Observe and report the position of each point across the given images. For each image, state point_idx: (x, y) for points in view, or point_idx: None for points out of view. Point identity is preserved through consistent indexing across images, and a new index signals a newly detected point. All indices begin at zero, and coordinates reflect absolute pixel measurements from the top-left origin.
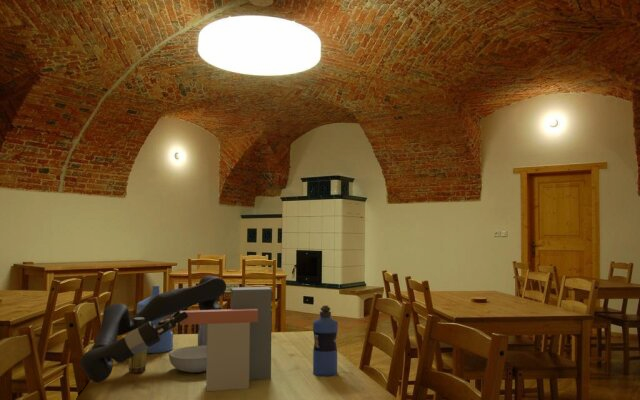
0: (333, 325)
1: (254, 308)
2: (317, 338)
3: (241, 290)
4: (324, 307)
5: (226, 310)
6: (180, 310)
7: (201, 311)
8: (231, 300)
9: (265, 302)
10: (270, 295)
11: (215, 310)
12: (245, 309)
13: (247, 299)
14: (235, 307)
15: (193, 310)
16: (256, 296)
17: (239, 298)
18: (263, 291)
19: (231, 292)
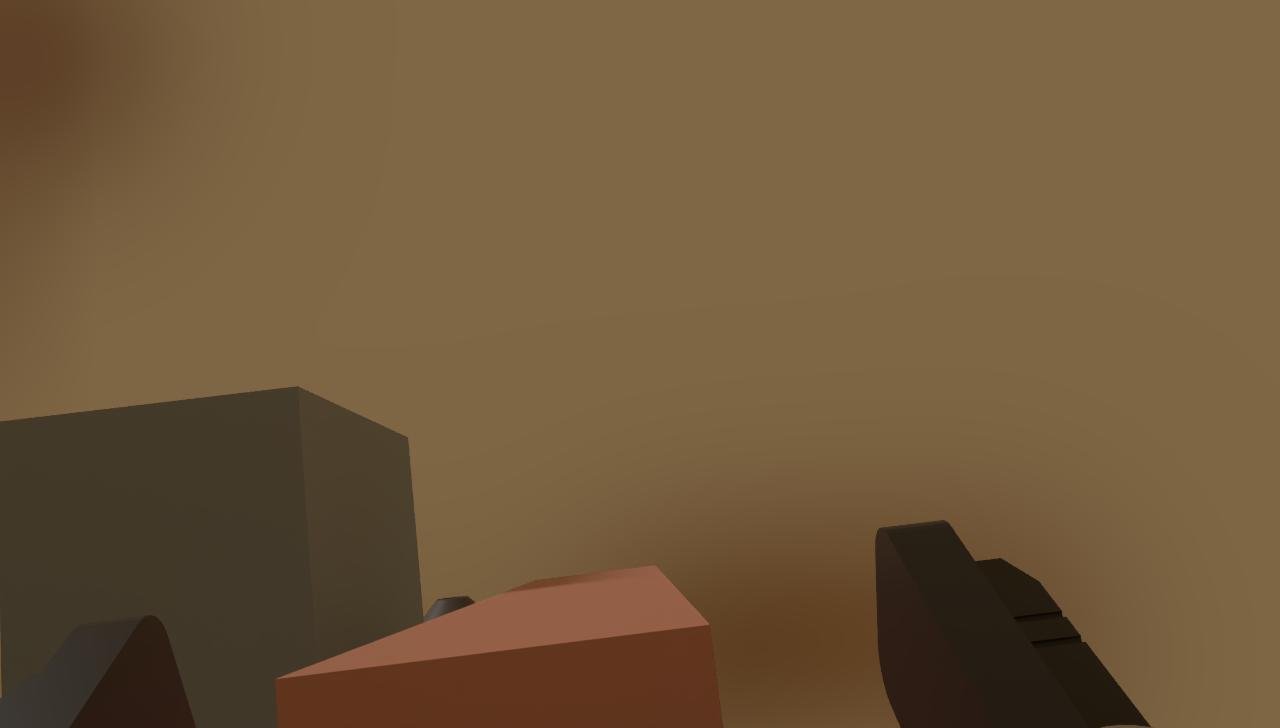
0: None
1: (538, 580)
2: None
3: (329, 409)
4: (470, 603)
5: (603, 582)
6: (84, 719)
7: (615, 598)
8: (106, 576)
9: (405, 559)
10: (411, 494)
11: (559, 594)
12: (584, 577)
13: (358, 521)
14: (323, 620)
15: (401, 634)
16: (380, 494)
17: (332, 503)
18: (392, 450)
19: (84, 469)
